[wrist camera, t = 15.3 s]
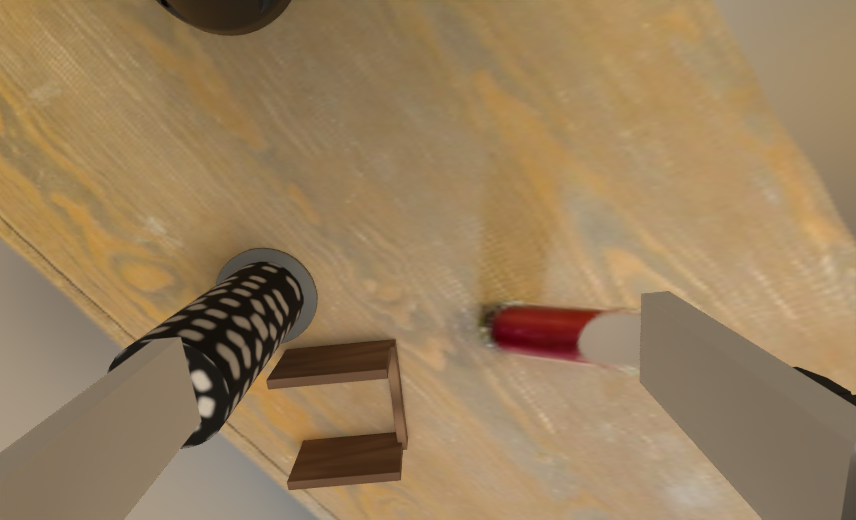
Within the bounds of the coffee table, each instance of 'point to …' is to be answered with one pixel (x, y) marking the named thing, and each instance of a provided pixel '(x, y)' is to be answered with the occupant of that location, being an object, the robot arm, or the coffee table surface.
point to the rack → (351, 454)
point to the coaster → (290, 265)
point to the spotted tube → (229, 338)
